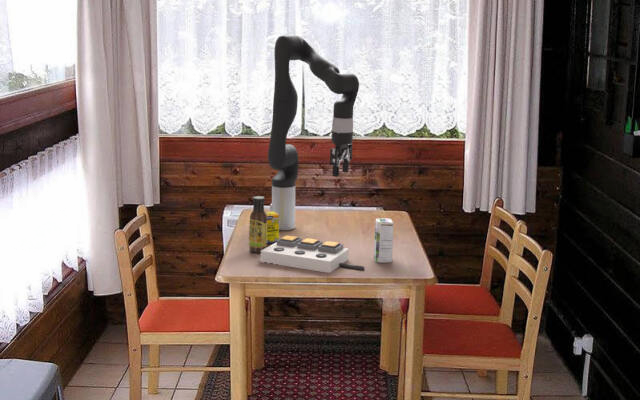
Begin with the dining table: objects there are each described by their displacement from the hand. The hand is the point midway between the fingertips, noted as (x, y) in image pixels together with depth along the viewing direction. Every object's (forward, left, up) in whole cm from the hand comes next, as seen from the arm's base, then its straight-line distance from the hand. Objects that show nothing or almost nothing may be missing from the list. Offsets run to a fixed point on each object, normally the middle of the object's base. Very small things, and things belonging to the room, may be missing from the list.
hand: (340, 174), depth 288 cm
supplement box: (-25, -7, -27) cm, 38 cm away
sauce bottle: (-23, -19, -27) cm, 41 cm away
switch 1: (-11, -18, -23) cm, 31 cm away
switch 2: (-3, -18, -23) cm, 29 cm away
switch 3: (+5, -18, -23) cm, 29 cm away
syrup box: (+21, -9, -27) cm, 35 cm away
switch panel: (+1, -22, -27) cm, 35 cm away
